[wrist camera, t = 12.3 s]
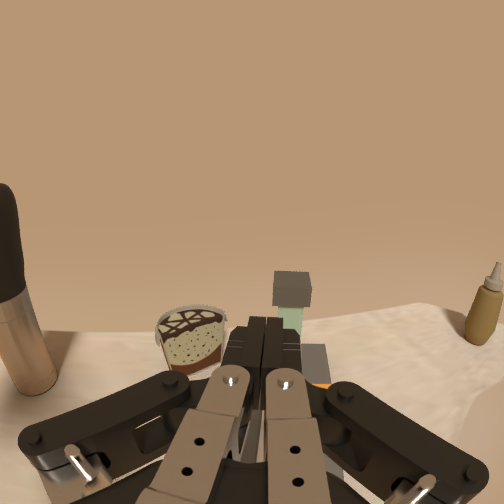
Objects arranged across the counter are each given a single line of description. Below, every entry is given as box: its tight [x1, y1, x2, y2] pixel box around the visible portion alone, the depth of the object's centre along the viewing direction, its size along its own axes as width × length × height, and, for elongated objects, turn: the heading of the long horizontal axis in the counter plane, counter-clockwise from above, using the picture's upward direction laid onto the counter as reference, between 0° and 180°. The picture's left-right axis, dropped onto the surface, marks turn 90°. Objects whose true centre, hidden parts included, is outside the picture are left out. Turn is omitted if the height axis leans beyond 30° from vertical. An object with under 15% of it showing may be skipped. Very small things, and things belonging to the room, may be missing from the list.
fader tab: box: [272, 271, 312, 337], centre depth 38 cm, size 4×5×16 cm
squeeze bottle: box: [465, 262, 503, 345], centre depth 45 cm, size 8×8×18 cm
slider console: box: [241, 340, 344, 481], centre depth 36 cm, size 14×28×4 cm, turn 174°
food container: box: [155, 305, 228, 377], centre depth 46 cm, size 12×6×10 cm, turn 130°
